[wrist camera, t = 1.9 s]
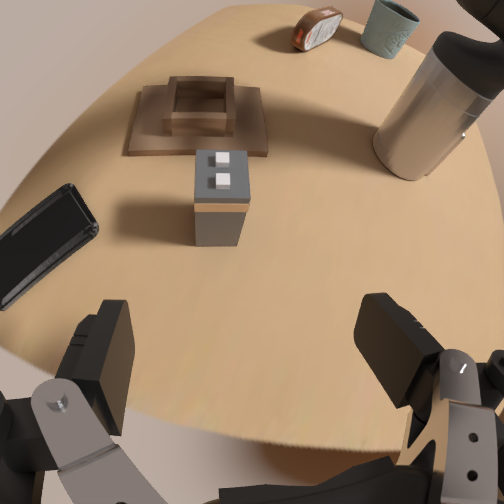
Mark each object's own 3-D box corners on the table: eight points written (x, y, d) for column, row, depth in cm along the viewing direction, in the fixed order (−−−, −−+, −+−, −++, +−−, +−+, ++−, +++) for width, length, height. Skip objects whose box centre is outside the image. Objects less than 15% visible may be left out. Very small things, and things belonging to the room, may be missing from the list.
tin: (323, 33, 51) (335, 1, 44) (336, 40, 51) (349, 8, 43) (284, 51, 46) (296, 12, 38) (299, 59, 45) (312, 20, 37)
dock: (258, 92, 40) (263, 71, 36) (266, 156, 35) (273, 134, 32) (144, 91, 37) (141, 69, 33) (129, 156, 33) (123, 133, 29)
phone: (101, 228, 28) (-4, 313, 23) (103, 233, 29) (2, 316, 24) (70, 179, 30) (-24, 256, 24) (73, 184, 31) (-19, 260, 25)
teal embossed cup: (354, 31, 55) (372, -8, 44) (393, 46, 56) (412, 10, 45) (361, 51, 51) (382, 7, 40) (403, 67, 52) (426, 27, 41)
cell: (235, 205, 32) (248, 145, 23) (237, 246, 31) (252, 194, 22) (195, 205, 32) (195, 144, 23) (195, 247, 30) (193, 193, 21)
